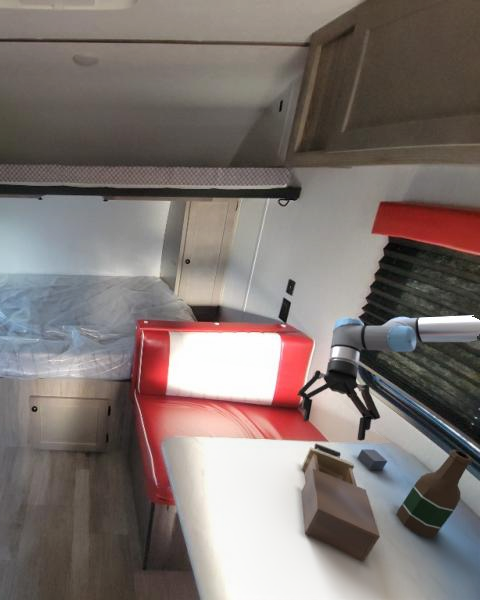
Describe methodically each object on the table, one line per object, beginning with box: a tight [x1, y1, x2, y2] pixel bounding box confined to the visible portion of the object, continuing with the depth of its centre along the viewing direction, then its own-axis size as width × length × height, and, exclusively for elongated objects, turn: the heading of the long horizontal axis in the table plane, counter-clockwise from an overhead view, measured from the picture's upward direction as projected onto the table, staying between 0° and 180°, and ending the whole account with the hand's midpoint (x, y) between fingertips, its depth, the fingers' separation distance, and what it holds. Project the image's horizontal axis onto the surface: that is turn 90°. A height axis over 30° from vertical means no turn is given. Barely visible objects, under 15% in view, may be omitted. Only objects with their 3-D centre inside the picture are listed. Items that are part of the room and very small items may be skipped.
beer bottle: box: [395, 448, 473, 540], centre depth 80 cm, size 8×8×24 cm
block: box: [356, 449, 388, 471], centre depth 102 cm, size 4×4×4 cm
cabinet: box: [300, 468, 381, 563], centre depth 81 cm, size 13×11×9 cm
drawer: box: [301, 443, 358, 486], centre depth 92 cm, size 17×10×8 cm, turn 151°
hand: (332, 429), depth 98 cm, fingers open, 13 cm apart
